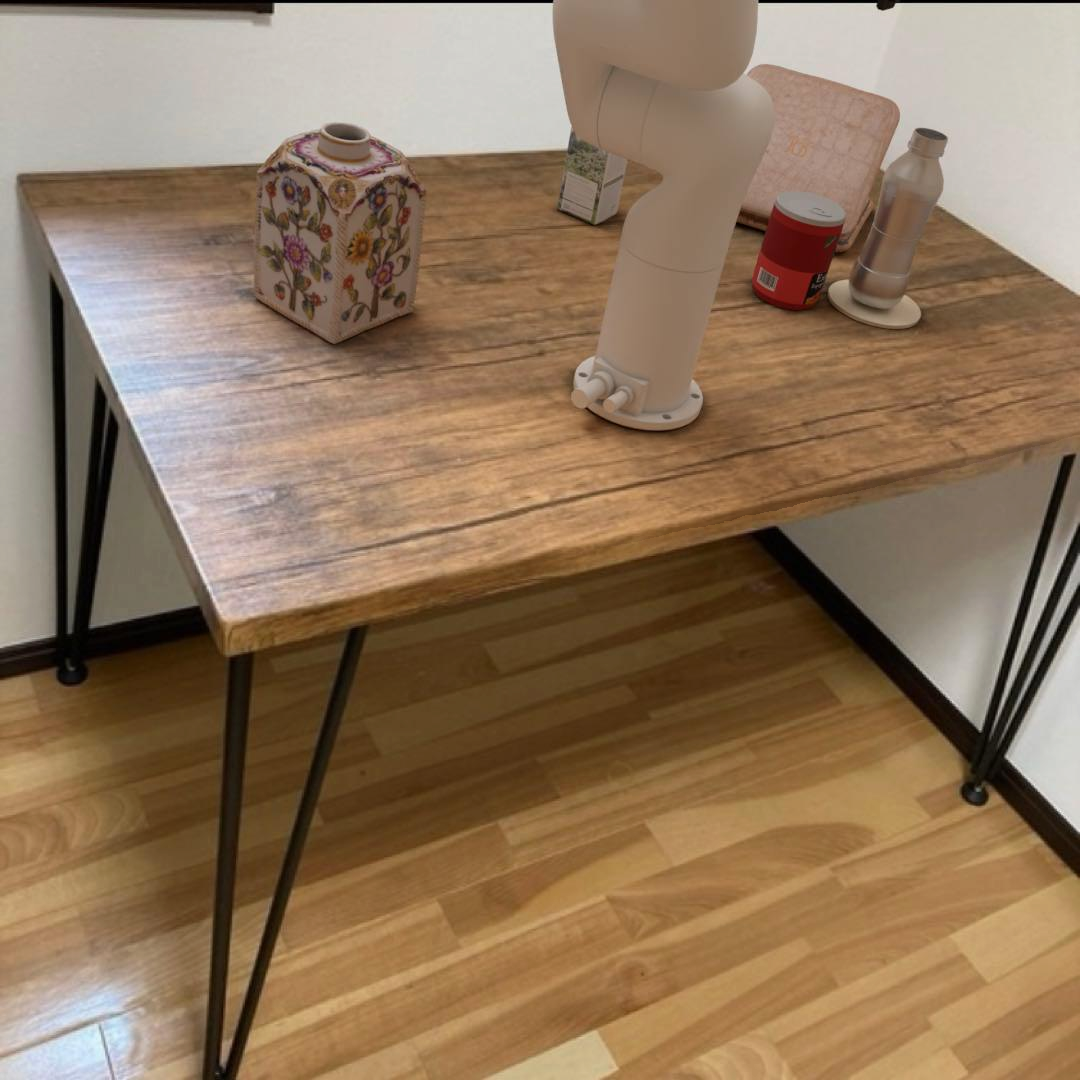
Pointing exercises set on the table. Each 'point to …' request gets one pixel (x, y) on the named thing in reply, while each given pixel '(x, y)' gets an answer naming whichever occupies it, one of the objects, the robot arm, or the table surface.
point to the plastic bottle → (899, 221)
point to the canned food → (797, 249)
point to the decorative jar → (338, 231)
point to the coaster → (873, 309)
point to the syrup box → (590, 181)
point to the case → (820, 146)
